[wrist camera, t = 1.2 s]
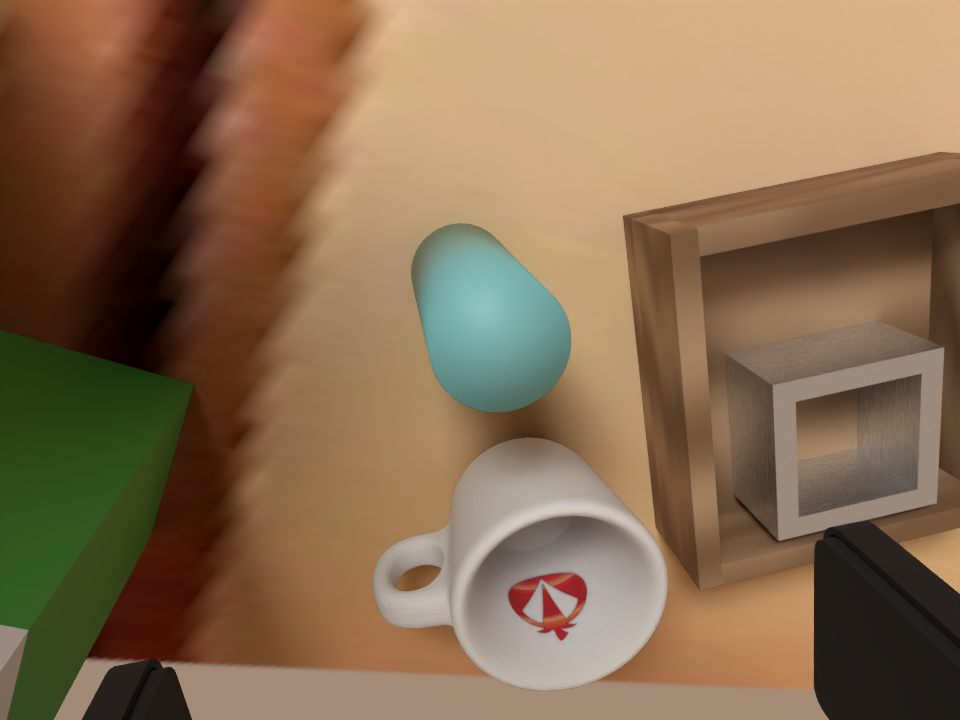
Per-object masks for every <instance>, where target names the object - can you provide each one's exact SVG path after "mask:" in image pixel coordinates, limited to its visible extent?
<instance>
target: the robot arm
mask: <svg viewBox="0 0 960 720" xmlns="http://www.w3.org/2000/svg"><path fill="white" fill-rule="evenodd" d="M814 689H815V693H816V697H817V699H818V702H819V704H820V706H821V708H822V710H823V711H824V713H825V714H826V716H827V717H828V719H829V720H960V594H959V593H958V592H957V591H955V590H954V589H953V588H952V587H951V586H949V585H948V584H947V583H946V582H944V581H943V580H942V579H941V578H940V577H938V576H937V575H936V574H935V573H933V572H932V571H931V570H930V569H929V568H927V567H926V566H925V565H924V564H922V563H921V562H920V561H919V560H917V559H916V558H915V557H914V556H913V555H911V554H910V553H909V552H908V551H906V550H905V549H904V548H903V547H902V546H900V545H899V544H898V543H897V542H895V541H894V540H893V539H892V538H891V537H889V536H888V535H887V534H886V533H884V532H883V531H882V530H881V529H880V528H878V527H877V526H876V525H875V524H873V523H871V522H870V521H859V522H854V523H849V524H844V525H838V526H833V527H829V528H827V529H826V530H825V532H824V535H823V539H820V540H818V541H816V543H815V548H814ZM82 720H192V718H191V715H190V712H189V709H188V707H187V704H186V701H185V698H184V695H183V692H182V689H181V686H180V683H179V680H178V677H177V675H176V672H175V670H174V669H173V668H172V667H166V668H163V667H162V665H161V663H160V662H159V661H158V660H156V659H150V660H145V661H140V662H135V663H130V664H125V665H119V666H114V667H113V668H111V669H110V670H109V671H108V672H107V674H106V675H105V677H104V679H103V681H102V683H101V684H100V686H99V688H98V690H97V692H96V694H95V696H94V698H93V700H92V702H91V704H90V705H89V707H88V709H87V711H86V713H85V715H84V717H83V719H82Z"/></svg>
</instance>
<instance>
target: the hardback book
mask: <svg viewBox="0 0 960 720" xmlns="http://www.w3.org/2000/svg"><path fill="white" fill-rule="evenodd" d="M193 387H194V385H193V384H190V383H186V382H182V381H179V380H175V379H172V378H168V377H165V376H161V375H158V374H154V373H151V372H147V371H144V370H140V369H137V368H133V367H130V366H126V365H123V364H119V363H116V362H112V361H109V360H105V359H102V358H98V357H95V356H91V355H88V354H84V353H81V352H77V351H74V350H70V349H67V348H63V347H60V346H56V345H53V344H49V343H45V342H42V341H38V340H35V339H31V338H28V337H24V336H21V335H17V334H14V333H10V332H7V331H3V330H0V720H53V719H54V718H55V716H56V714H57V712H58V710H59V708H60V706H61V704H62V703H63V701H64V699H65V697H66V695H67V693H68V691H69V689H70V688H71V686H72V684H73V682H74V680H75V678H76V676H77V674H78V673H79V671H80V669H81V667H82V665H83V663H84V661H85V659H86V658H87V656H88V654H89V652H90V650H91V648H92V646H93V644H94V643H95V641H96V639H97V637H98V635H99V633H100V631H101V629H102V628H103V626H104V624H105V622H106V620H107V618H108V616H109V614H110V613H111V611H112V609H113V607H114V605H115V603H116V601H117V599H118V598H119V596H120V594H121V592H122V590H123V588H124V586H125V584H126V583H127V581H128V579H129V577H130V575H131V573H132V571H133V569H134V568H135V566H136V564H137V562H138V560H139V558H140V556H141V554H142V553H143V551H144V549H145V547H146V545H147V543H148V541H149V539H150V538H151V534H152V531H153V527H154V524H155V520H156V517H157V513H158V510H159V506H160V503H161V499H162V496H163V492H164V489H165V485H166V482H167V478H168V475H169V471H170V468H171V464H172V461H173V457H174V454H175V450H176V446H177V443H178V439H179V436H180V432H181V429H182V425H183V422H184V418H185V415H186V411H187V408H188V404H189V401H190V397H191V394H192V390H193Z"/></svg>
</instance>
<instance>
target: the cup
mask: <svg viewBox="0 0 960 720" xmlns="http://www.w3.org/2000/svg"><path fill="white" fill-rule="evenodd" d="M421 565H434V566H437V567H439V568H441V571H440V573H439V575H438V576H437V577H436V579H435V580H434V581H433V582H431V583H430V584H429V585H427V586H425V587H423V588H420V589H418V590H413V591H400V590H397V589H395V588H396V584H397V582H398V580H399V578H400V577H401V576H402V575H403V574H404V573H405V572H406V571H408V570H410V569H412V568H414V567H417V566H421ZM373 592H374V598H375V601H376V604H377V607H378V609H379V612H380V613H381V615H382V616H383V617H384V618H385V619H386V620H387V621H388V622H389V623H391V624H393V625H395V626H398V627H403V628H424V627H432V626H441V625H449V626H452V627H453V628H454V631H455V634H456V637H457V639H458V641H459V643H460V645H461V647H462V649H463V650H464V652H465V653H466V655H467V656H468V657H469V658H470V659H471V660H472V662H473V663H474V664H475V665H476V666H477V667H478V668H480V669H481V670H482V671H484V672H485V673H486V674H488V675H489V676H491V677H493V678H494V679H496V680H498V681H500V682H503V683H505V684H508V685H510V686H514V687H517V688H521V689H526V690H534V691H558V690H565V689H572V688H576V687H580V686H583V685H586V684H589V683H592V682H594V681H597V680H599V679H601V678H603V677H605V676H607V675H609V674H611V673H613V672H614V671H616V670H617V669H619V668H620V667H622V666H623V665H624V664H626V663H627V662H628V661H630V660H631V659H632V658H633V657H634V656H635V655H636V654H637V653H638V652H639V651H640V650H641V649H642V648H643V646H644V645H645V644H646V643H647V642H648V640H649V639H650V637H651V636H652V634H653V633H654V631H655V630H656V628H657V626H658V624H659V621H660V619H661V617H662V614H663V611H664V608H665V604H666V599H667V593H668V574H667V568H666V563H665V560H664V557H663V554H662V552H661V549H660V547H659V545H658V543H657V541H656V540H655V538H654V537H653V536H652V534H651V533H650V531H649V530H648V529H647V528H646V527H645V525H644V524H643V523H642V522H641V521H640V520H639V519H638V518H637V517H636V516H635V514H634V513H633V512H632V511H631V510H630V509H629V508H628V507H627V506H626V505H625V504H624V502H623V501H622V500H621V499H620V498H619V497H618V496H617V495H616V494H615V493H614V492H613V490H612V489H611V488H610V487H609V486H608V485H607V484H606V483H605V482H604V481H603V479H602V478H601V477H600V476H599V475H598V474H597V473H596V472H595V471H594V470H593V469H592V467H591V466H590V465H589V464H588V463H587V462H586V461H585V460H584V459H582V458H581V457H580V456H579V455H578V454H576V453H575V452H573V451H572V450H570V449H569V448H567V447H565V446H563V445H561V444H559V443H557V442H554V441H551V440H547V439H542V438H532V437H529V438H517V439H512V440H508V441H505V442H502V443H499V444H497V445H495V446H493V447H491V448H489V449H487V450H486V451H484V452H483V453H482V454H480V455H479V456H478V457H477V458H476V459H475V460H474V461H473V462H472V463H471V464H470V465H469V466H468V467H467V469H466V470H465V471H464V473H463V474H462V476H461V478H460V480H459V482H458V484H457V486H456V489H455V492H454V495H453V499H452V504H451V511H450V517H449V521H448V523H447V525H446V526H445V527H444V528H442V529H441V530H438V531H434V532H430V533H425V534H420V535H416V536H413V537H409V538H406V539H403V540H401V541H399V542H397V543H395V544H394V545H392V546H391V547H389V548H388V549H387V550H386V551H385V552H384V553H383V554H382V556H381V557H380V559H379V560H378V563H377V565H376V567H375V571H374V576H373Z"/></svg>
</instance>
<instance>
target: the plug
mask: <svg viewBox="0 0 960 720" xmlns="http://www.w3.org/2000/svg"><path fill="white" fill-rule="evenodd" d="M411 277H412V284H413V288H414V292H415V297H416V301H417V305H418V310H419V314H420V318H421V323H422V327H423V331H424V336H425V340H426V344H427V349H428V353H429V357H430V361H431V365H432V368H433V371H434V373H435V376H436V378H437V379H438V381H439V383H440V384H441V386H442V387H443V388H444V389H445V390H446V392H447V393H449V394H450V395H451V396H452V397H453V398H454V399H456V400H457V401H459V402H460V403H462V404H464V405H466V406H468V407H470V408H473V409H476V410H480V411H484V412H508V411H513V410H517V409H520V408H523V407H525V406H528V405H530V404H532V403H534V402H535V401H537V400H538V399H540V398H541V397H543V396H544V395H545V394H546V393H547V392H548V391H549V390H550V389H552V387H553V386H554V385H555V384H556V383H557V381H558V380H559V378H560V377H561V375H562V373H563V371H564V369H565V367H566V365H567V362H568V359H569V354H570V349H571V331H570V326H569V322H568V319H567V316H566V314H565V312H564V310H563V308H562V306H561V305H560V303H559V302H558V300H557V299H556V298H555V297H554V296H553V295H552V294H551V293H550V292H549V291H548V290H547V289H546V288H545V287H544V286H543V285H542V284H541V283H540V282H539V281H538V280H537V279H536V278H535V277H534V276H533V275H532V274H531V273H530V272H529V271H528V270H527V269H526V268H525V267H524V266H523V265H522V264H521V263H520V262H519V261H518V260H517V259H516V258H515V257H514V256H513V255H512V254H511V253H510V252H509V251H508V250H507V249H506V248H505V247H504V246H503V245H502V244H501V243H500V242H499V241H498V240H497V239H496V238H495V237H494V236H493V235H492V234H490V233H489V232H488V231H486V230H484V229H482V228H480V227H478V226H474V225H471V224H451V225H448V226H444V227H442V228H439V229H438V230H436V231H434V232H433V233H431V234H430V235H429V236H428V237H427V238H426V239H425V240H424V241H423V242H422V243H421V245H420V246H419V248H418V249H417V251H416V253H415V256H414V259H413V262H412V269H411Z"/></svg>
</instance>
